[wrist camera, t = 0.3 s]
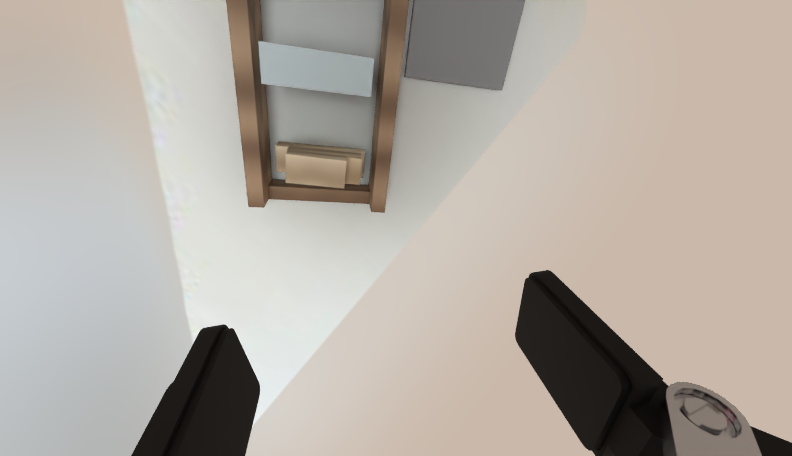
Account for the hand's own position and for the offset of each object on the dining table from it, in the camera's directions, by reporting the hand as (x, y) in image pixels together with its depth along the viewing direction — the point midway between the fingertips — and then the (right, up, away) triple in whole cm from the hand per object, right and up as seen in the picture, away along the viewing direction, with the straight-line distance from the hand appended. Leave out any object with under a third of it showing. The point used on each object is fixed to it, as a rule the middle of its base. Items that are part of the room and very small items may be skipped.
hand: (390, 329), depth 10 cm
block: (-8, +20, +23) cm, 32 cm away
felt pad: (+8, +25, +23) cm, 35 cm away
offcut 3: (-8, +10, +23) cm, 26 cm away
